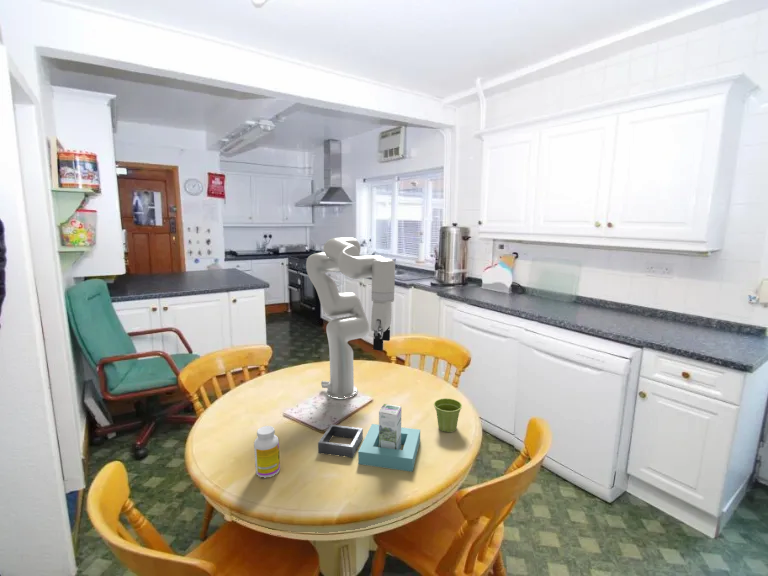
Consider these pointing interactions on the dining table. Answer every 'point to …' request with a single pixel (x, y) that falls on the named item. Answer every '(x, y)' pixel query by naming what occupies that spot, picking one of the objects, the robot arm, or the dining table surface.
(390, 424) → the syrup box
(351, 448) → the box stand
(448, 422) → the plant pot
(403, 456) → the socket block
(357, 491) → the dining table surface
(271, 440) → the supplement bottle
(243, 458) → the dining table surface
